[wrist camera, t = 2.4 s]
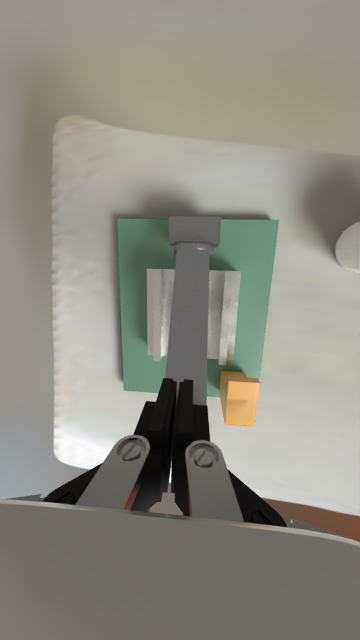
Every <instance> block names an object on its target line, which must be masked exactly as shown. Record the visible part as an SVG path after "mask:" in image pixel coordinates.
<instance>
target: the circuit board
mask: <svg viewBox="0 0 360 640" xmlns="http://www.w3.org/2000/svg"><path fill="white" fill-rule="evenodd" d="M278 223H279V220H227V219H221V231H220V244H219V246H218V247H217V248H213V255H210V259H209V270H217V271H241V278H240V289H239V300H238V311H237V323H236V334H235V345H234V356H233V360H226V365H218V360H217V359H207V396H210V397H220V393H219V390H220V376H221V371H233V372H245V374H246V376H247V377H249V378H258V380H259V378H260V370H261V362H262V353H263V345H264V337H265V329H266V321H267V313H268V304H269V296H270V288H271V280H272V272H273V264H274V255H275V247H276V239H277V231H278ZM117 231H118V256H119V281H120V307H121V332H122V357H123V382H124V391H138V392H153V393H159V390H160V387H161V384H162V381H163V378H165V374H166V363H167V356H163V357H162V359H161V361H153V356H151V355H148V338H147V269H175V264H176V254H174V247H172V246H171V245H170V244H169V219H117Z"/></svg>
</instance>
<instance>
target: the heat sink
mask: <svg viewBox="0 0 360 640" xmlns="http://www.w3.org/2000/svg"><path fill="white" fill-rule="evenodd" d="M220 231H221V216H169V244H170V245H171V246H172V247H174V241H200V242H213V248H217V247H218V246H219V244H220ZM174 275H175V269H147V338H148V355H151V356H153V361H161V359H162V357H163V356H167V352H168V341H169V330H170V319H171V308H172V297H173V286H174ZM240 278H241V271H217V270H209V305H208V351H207V359H217V360H218V365H226V360H233V356H234V345H235V334H236V323H237V311H238V300H239V289H240Z"/></svg>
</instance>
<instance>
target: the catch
mask: <svg viewBox="0 0 360 640" xmlns="http://www.w3.org/2000/svg"><path fill="white" fill-rule="evenodd" d="M259 388H260V382H259V380H258V378H249V377H247V376H246V374H245V372H233V371H221V376H220V390H219V393H220V398H221V404H222V410H223V416H224V422H225V425H233V426H245V427H255V421H256V412H257V404H258V396H259Z"/></svg>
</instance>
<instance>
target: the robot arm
mask: <svg viewBox="0 0 360 640" xmlns="http://www.w3.org/2000/svg"><path fill="white" fill-rule="evenodd" d="M176 398H177V404H176ZM171 461H172V473H171V493H175V503H176V504H177V506H178V507H179V508H180V510H181V511H182V512H183V516H181V515H171V514H161V513H152V512H150V508H151V507H152V506H153V505H154V504H155V503H157V502H161V499H162V493H163V492H166V493H167V491H168V484H169V476H170V468H171ZM0 640H360V542H358V541H355V540H352V539H350V538H347V537H344V536H341V535H338V534H335V533H332V532H329V531H326V530H323V529H320V528H317V527H313V526H311V525H308V524H305V523H302V522H299V521H296V520H293V519H292V520H291V523H290V522H287V521H284V520H283V518H282V517H281V516H280V515H279V514H278V513H277V512H276V511H275V510H274V509H273V508H272V507H271V506H270V505H269V504H267V503H266V502H265V501H264V500H263V499H262V498H260V497H259V496H258V495H257V494H256V493H255V492H253V491H252V490H251V489H250V488H249V487H248V486H246V485H245V484H244V483H243V482H242V481H241V480H239V479H238V478H237V477H236V476H235V475H234V474H232V473H231V472H230V471H229V470H228V469H227V467H226V464H225V461H224V457H223V454H222V452H221V450H220V449H219V448H218V447H217V446H216V445H215V444H213V443H212V442H210V434H209V421H208V409H207V405H194V404H193V380H188V379H184V381H183V382H180V383H179V390H178V397H177V381H173V379H171V378H163V381H162V384H161V387H160V390H159V394H158V397H157V400H156V402H150V401H147V402H146V403H145V405H144V408H143V411H142V413H141V416H140V419H139V421H138V424H137V427H136V429H135V432H134V434H133V435H130V436H126V437H124V438H122V439H121V440H119V441H118V442H117V443H116V444H115V445H114V447H113V448H112V450H111V452H110V453H109V455H108V456H107V458H106V459H105V461H104V462H103V463H101V464H100V465H98V466H96V467H94V468H93V469H91V470H89V471H87V472H85V473H84V474H82V475H80V476H78V477H77V478H75V479H73V480H71V481H70V482H68V483H66V484H64V485H62V486H61V487H59V488H57V489H55V490H54V491H53V492H51V493H50V494H49V495H48V496H47V497H44V498H42V494H39V495H31V496H24V497H17V498H10V499H0Z"/></svg>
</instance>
